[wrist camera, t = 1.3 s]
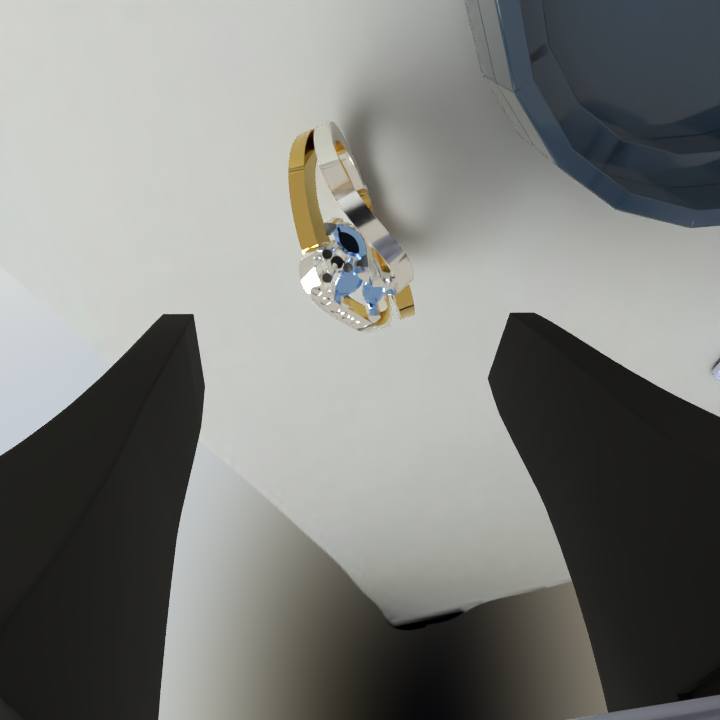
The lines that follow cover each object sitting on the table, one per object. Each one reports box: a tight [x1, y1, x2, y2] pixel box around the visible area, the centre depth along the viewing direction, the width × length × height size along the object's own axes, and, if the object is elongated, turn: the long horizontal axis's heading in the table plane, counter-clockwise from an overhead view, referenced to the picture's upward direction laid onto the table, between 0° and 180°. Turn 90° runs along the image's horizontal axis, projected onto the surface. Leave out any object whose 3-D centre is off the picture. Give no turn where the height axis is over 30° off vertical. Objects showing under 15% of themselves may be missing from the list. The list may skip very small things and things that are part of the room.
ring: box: [289, 122, 415, 333], centre depth 16 cm, size 7×3×8 cm, turn 20°
